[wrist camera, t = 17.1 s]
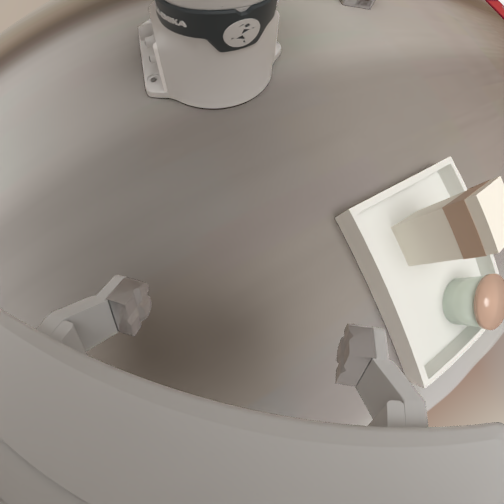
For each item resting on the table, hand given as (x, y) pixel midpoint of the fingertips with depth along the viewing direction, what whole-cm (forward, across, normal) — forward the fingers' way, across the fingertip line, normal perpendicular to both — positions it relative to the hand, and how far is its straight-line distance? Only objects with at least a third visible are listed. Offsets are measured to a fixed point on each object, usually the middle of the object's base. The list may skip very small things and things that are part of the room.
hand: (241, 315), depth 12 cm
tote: (+23, -18, +10) cm, 31 cm away
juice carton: (+23, -15, +6) cm, 28 cm away
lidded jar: (+21, -24, +12) cm, 34 cm away
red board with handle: (+109, -78, -69) cm, 151 cm away
